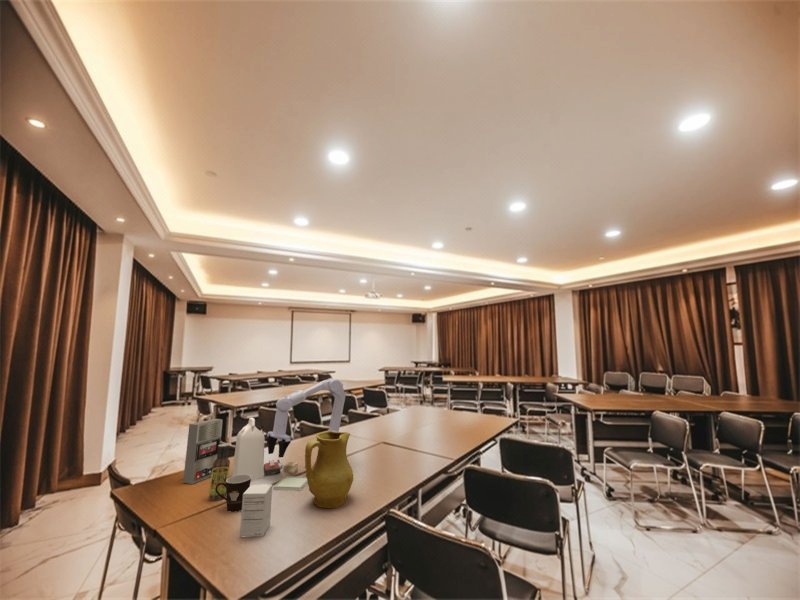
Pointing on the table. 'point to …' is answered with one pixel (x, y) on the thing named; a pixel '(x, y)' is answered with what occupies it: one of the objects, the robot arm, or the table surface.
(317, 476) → the pitcher
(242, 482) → the coffee mug
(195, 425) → the cassette tape recorder
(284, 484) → the sage tile
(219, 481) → the sauce bottle
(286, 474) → the beech cube
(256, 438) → the milk
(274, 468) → the walkie-talkie
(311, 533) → the table surface
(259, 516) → the supplement box
